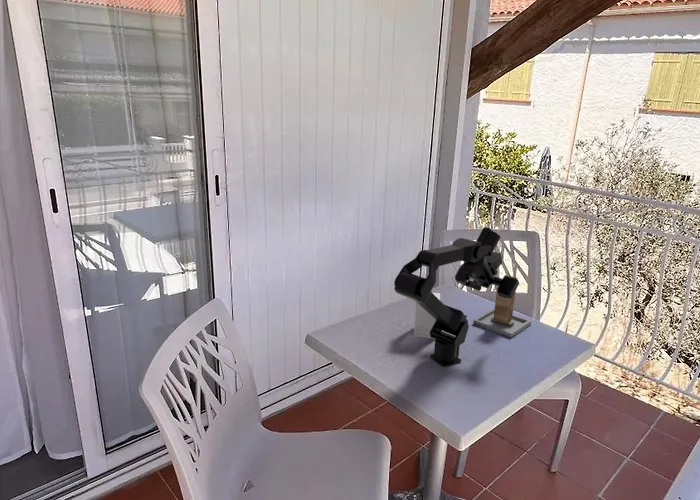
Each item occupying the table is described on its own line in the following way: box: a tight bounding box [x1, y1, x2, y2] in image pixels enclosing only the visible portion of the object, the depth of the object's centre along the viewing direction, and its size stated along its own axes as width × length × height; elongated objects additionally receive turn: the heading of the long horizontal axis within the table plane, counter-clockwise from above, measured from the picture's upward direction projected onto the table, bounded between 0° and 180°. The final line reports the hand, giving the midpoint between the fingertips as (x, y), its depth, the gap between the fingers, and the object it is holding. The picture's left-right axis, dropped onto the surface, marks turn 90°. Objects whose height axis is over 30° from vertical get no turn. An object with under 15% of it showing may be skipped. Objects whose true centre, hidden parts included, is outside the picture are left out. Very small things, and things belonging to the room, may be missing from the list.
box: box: [472, 307, 532, 339], centre depth 162 cm, size 14×14×2 cm
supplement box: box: [413, 292, 441, 339], centre depth 153 cm, size 7×7×13 cm
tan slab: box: [491, 286, 517, 327], centre depth 160 cm, size 4×7×13 cm, turn 46°
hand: (493, 293), depth 152 cm, fingers open, 9 cm apart
